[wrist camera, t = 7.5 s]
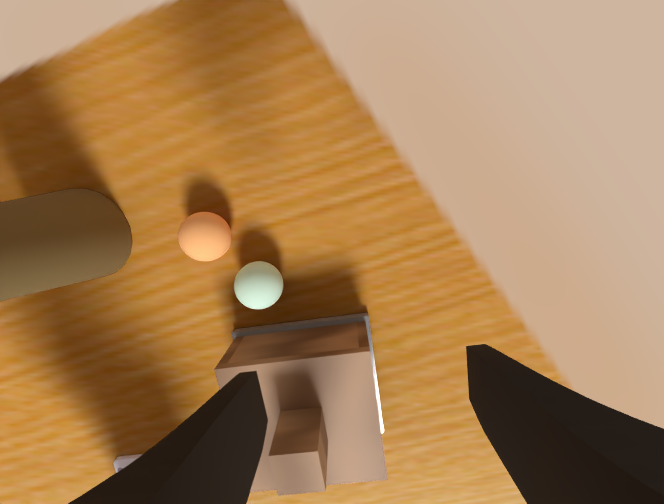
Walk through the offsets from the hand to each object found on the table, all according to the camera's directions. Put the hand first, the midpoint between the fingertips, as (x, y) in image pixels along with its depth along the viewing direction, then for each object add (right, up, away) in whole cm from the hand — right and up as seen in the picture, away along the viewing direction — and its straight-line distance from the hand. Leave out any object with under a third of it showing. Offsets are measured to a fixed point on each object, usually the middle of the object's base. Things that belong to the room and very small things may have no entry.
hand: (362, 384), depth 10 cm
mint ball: (-6, +3, +10) cm, 12 cm away
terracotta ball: (-9, +6, +10) cm, 14 cm away
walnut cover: (-3, -5, +11) cm, 13 cm away
